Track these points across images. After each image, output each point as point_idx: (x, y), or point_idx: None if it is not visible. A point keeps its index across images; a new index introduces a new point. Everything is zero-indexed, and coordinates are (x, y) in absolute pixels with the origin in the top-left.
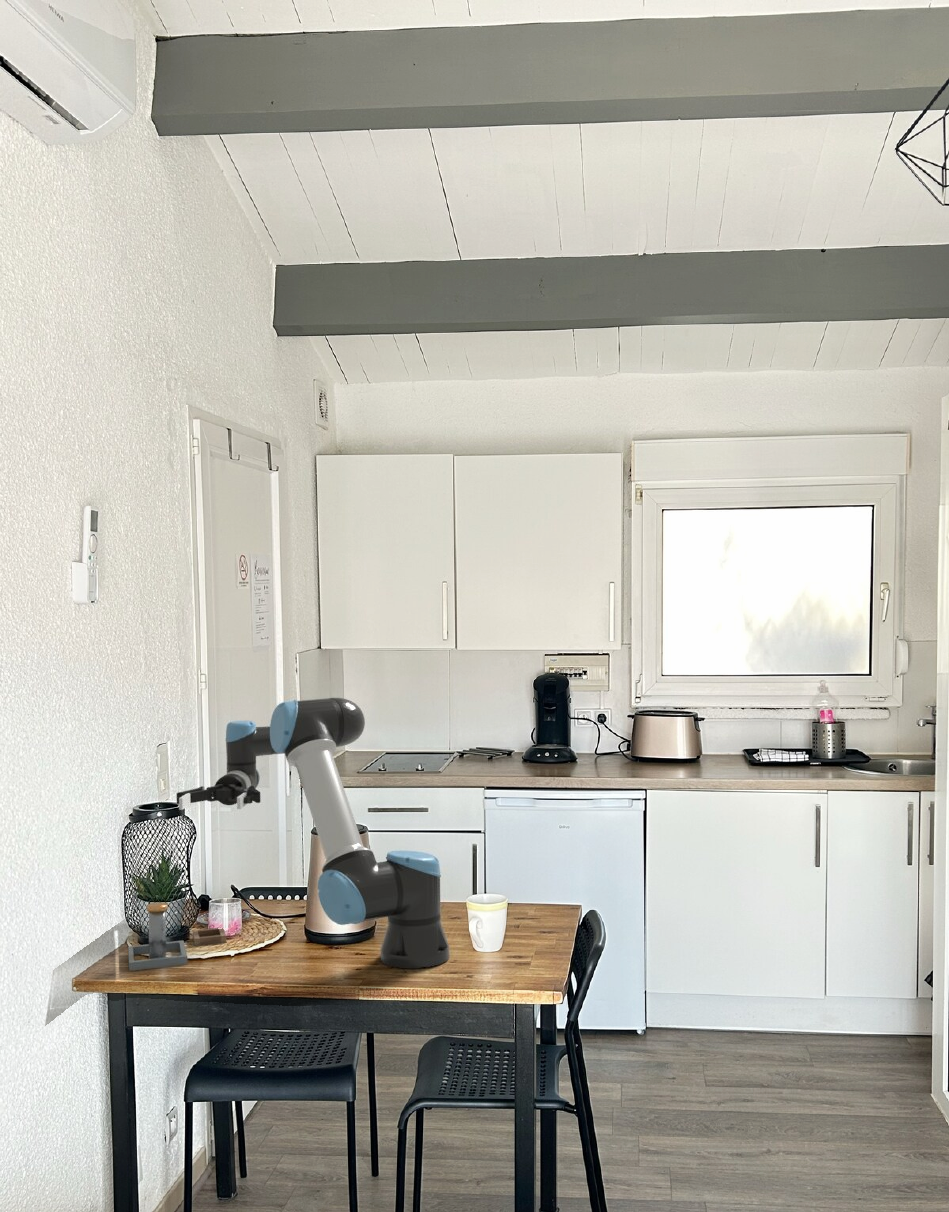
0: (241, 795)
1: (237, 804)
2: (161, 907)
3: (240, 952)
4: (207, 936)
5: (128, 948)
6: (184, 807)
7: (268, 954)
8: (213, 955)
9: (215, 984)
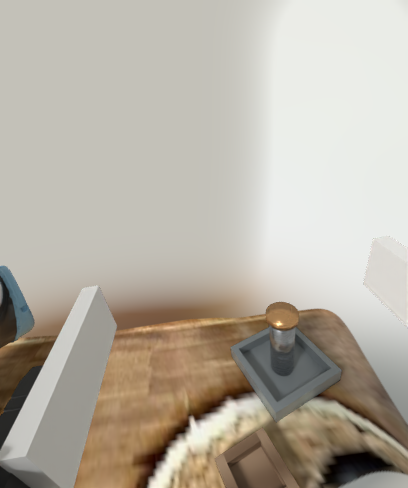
0: (68, 333)
1: (108, 310)
2: (268, 307)
3: (183, 436)
4: (247, 447)
5: (332, 362)
6: (385, 301)
7: (137, 432)
8: (220, 414)
9: (182, 322)
